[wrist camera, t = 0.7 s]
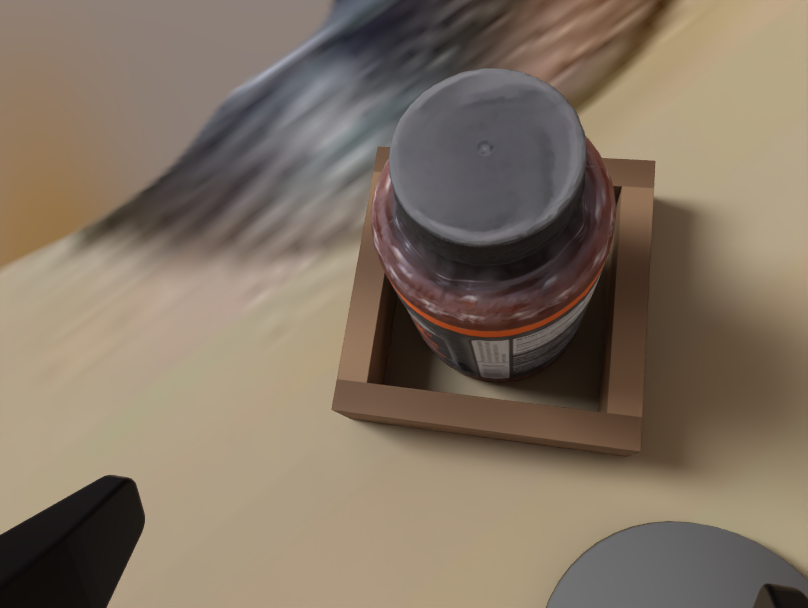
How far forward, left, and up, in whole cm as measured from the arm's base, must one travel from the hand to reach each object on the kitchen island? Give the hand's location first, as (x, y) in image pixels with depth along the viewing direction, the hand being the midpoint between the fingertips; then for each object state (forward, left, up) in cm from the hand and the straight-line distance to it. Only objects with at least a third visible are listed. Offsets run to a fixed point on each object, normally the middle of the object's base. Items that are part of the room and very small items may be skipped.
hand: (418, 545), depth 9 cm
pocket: (+6, -4, -13) cm, 15 cm away
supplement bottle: (+6, -4, -13) cm, 15 cm away
